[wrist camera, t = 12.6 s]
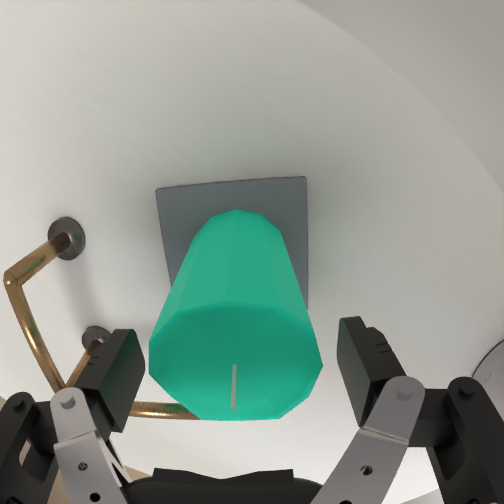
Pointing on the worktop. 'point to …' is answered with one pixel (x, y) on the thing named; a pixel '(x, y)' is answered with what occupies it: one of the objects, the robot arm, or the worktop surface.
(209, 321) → the candle
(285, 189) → the coaster
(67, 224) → the handrail
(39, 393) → the worktop surface
